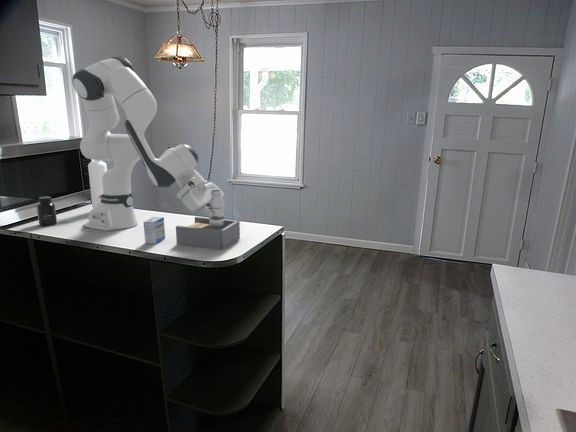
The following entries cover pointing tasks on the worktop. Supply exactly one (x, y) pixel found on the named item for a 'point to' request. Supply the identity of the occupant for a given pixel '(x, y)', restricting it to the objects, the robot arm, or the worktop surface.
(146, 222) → the medicine box
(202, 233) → the open box
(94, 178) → the bottle
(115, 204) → the robot arm
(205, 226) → the upper offcut
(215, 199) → the plastic bottle
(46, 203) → the supplement bottle
